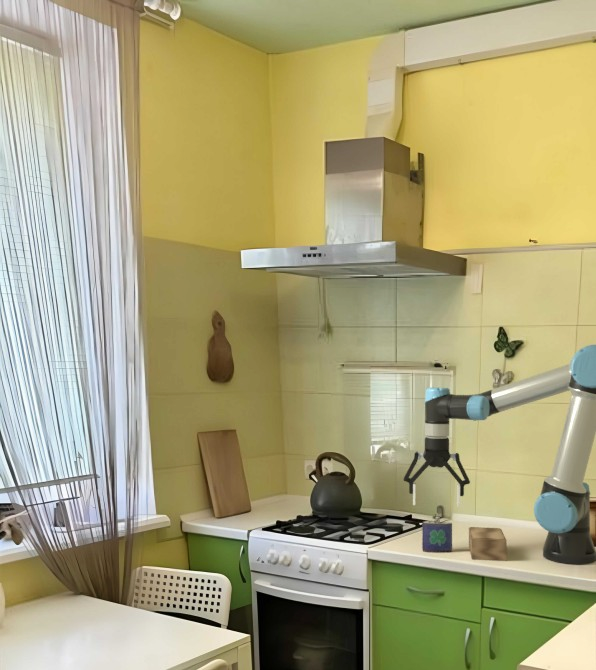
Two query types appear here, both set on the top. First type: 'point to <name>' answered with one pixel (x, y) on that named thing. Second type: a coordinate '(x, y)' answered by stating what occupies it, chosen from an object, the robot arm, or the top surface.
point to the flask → (437, 536)
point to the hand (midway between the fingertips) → (436, 505)
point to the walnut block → (487, 544)
